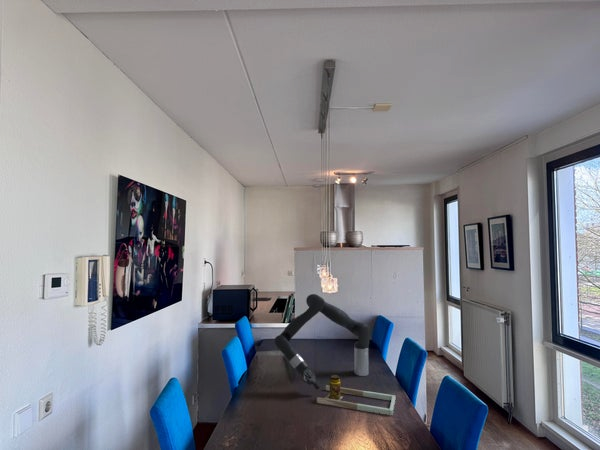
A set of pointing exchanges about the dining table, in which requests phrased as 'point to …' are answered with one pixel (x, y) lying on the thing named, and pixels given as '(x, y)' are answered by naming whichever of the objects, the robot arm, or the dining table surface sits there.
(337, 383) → the condiment
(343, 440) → the dining table surface
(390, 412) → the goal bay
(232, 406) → the dining table surface
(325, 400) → the wooden guide rails
